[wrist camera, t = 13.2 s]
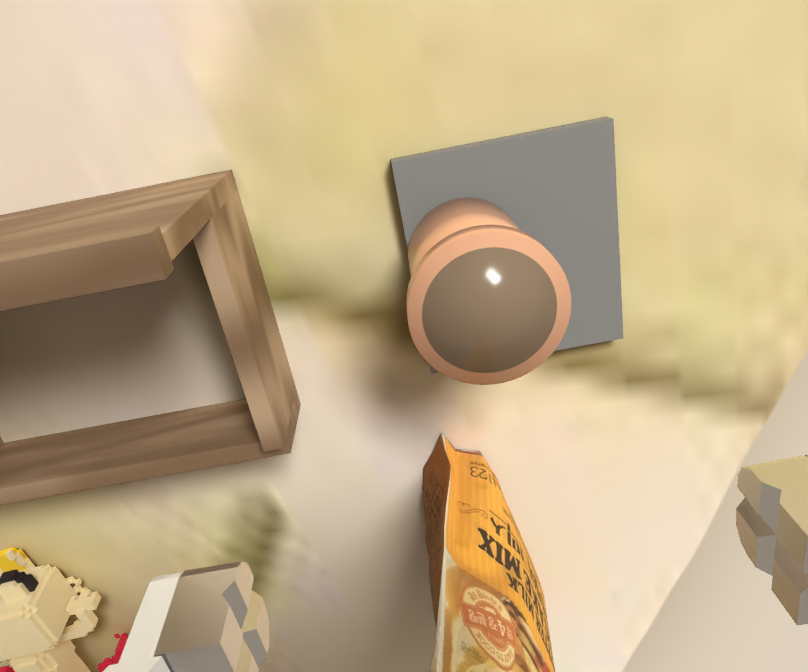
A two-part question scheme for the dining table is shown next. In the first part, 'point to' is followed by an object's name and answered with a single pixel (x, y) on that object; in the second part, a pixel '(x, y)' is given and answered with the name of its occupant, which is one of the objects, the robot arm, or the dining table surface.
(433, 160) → the rubber mat
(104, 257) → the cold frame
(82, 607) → the cream toy figurine
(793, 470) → the robot arm
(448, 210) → the terracotta pot
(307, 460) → the dining table surface
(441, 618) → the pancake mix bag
